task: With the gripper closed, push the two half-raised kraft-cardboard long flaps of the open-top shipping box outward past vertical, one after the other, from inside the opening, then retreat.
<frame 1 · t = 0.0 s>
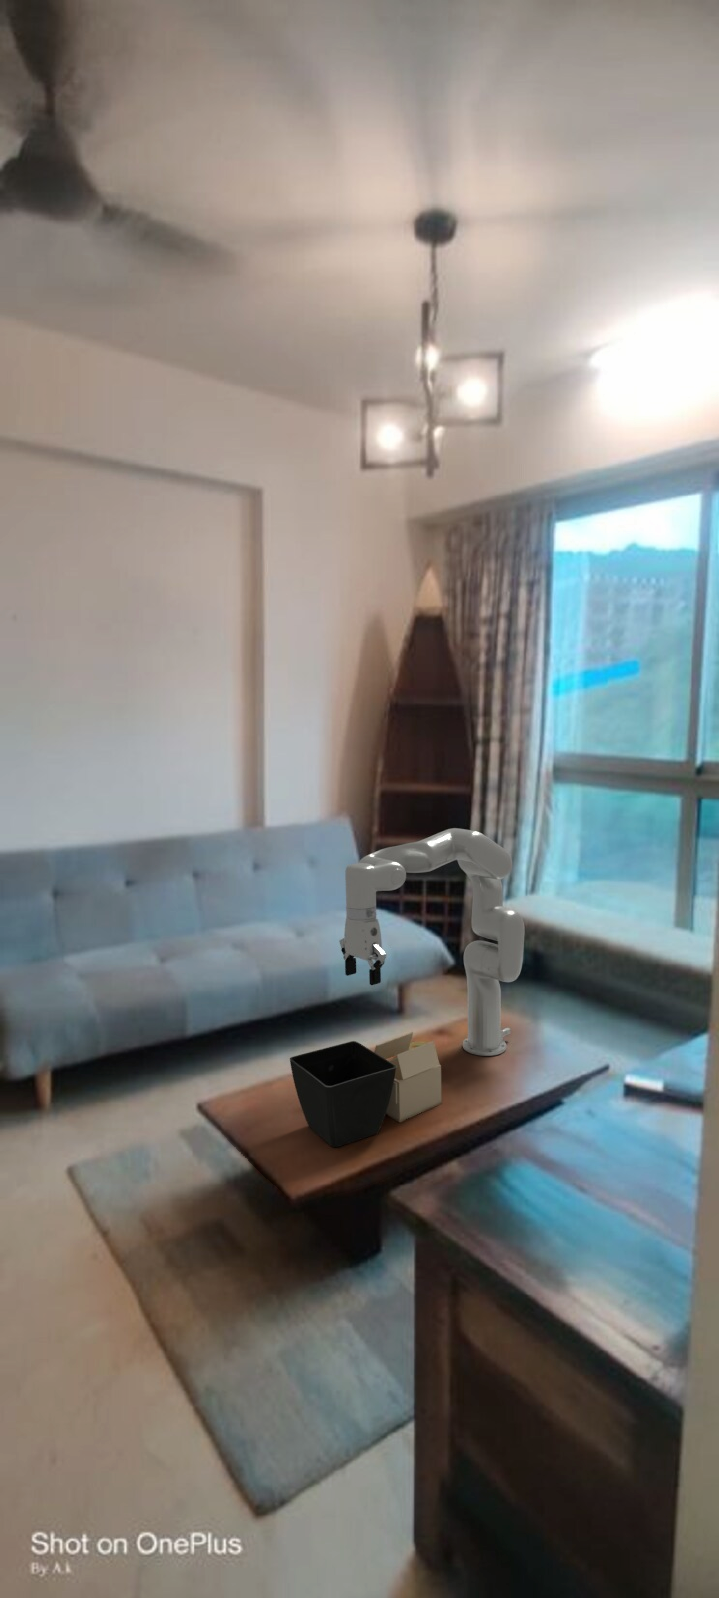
hand: (362, 979, 200), 31 cm above the table, tool pointing down, fingers open, 9 cm apart
flower pot: (344, 1130, 188), on the table
carton: (417, 1068, 220), on the table
far flap: (392, 1047, 201), point 13 cm above the table, hinge at 70.0°
shipping box: (406, 1104, 199), on the table
near flap: (418, 1059, 193), point 13 cm above the table, hinge at 70.0°
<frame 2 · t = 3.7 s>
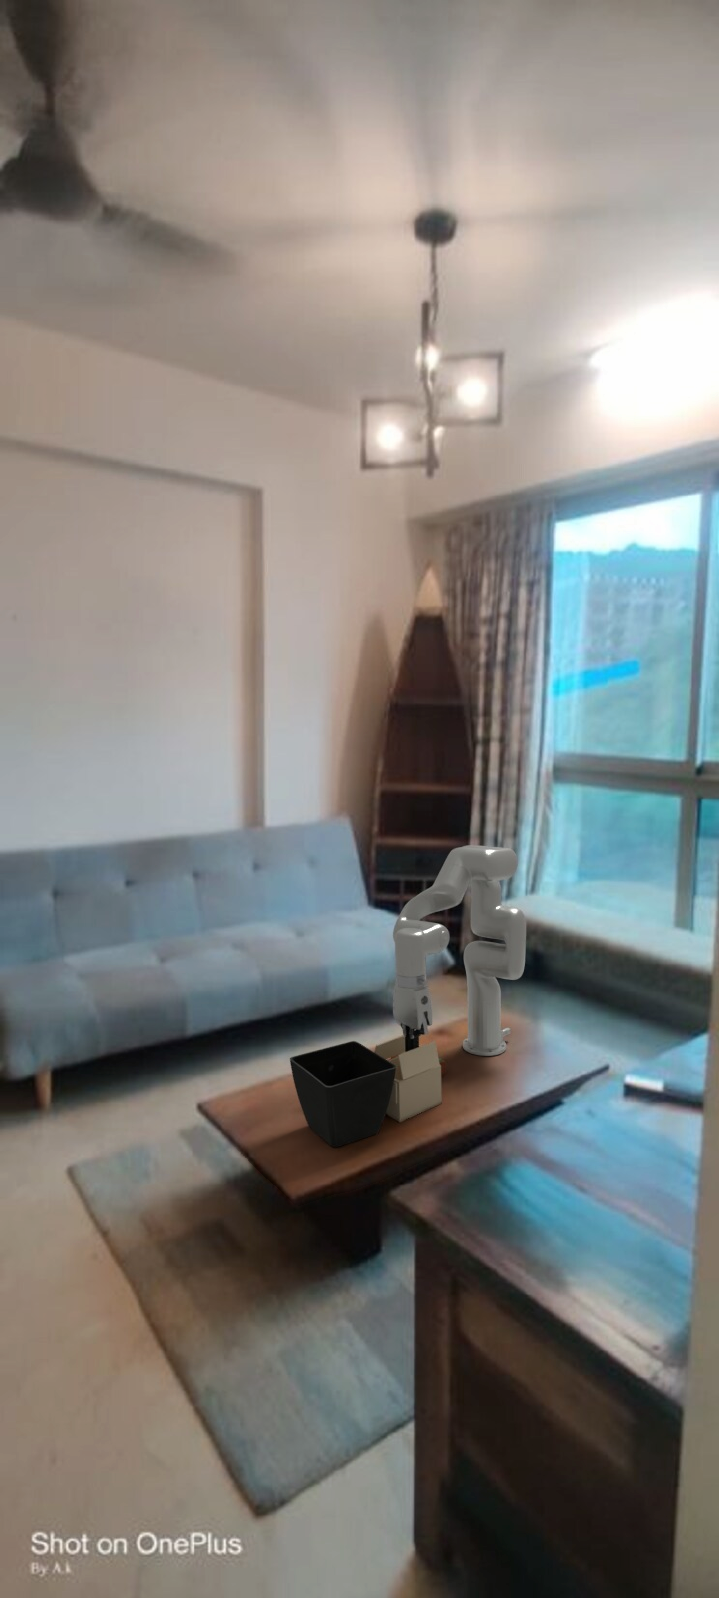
hand: (412, 1051, 195), 15 cm above the table, tool pointing down, fingers closed
near flap: (419, 1059, 193), point 13 cm above the table, hinge at 76.3°, touching gripper
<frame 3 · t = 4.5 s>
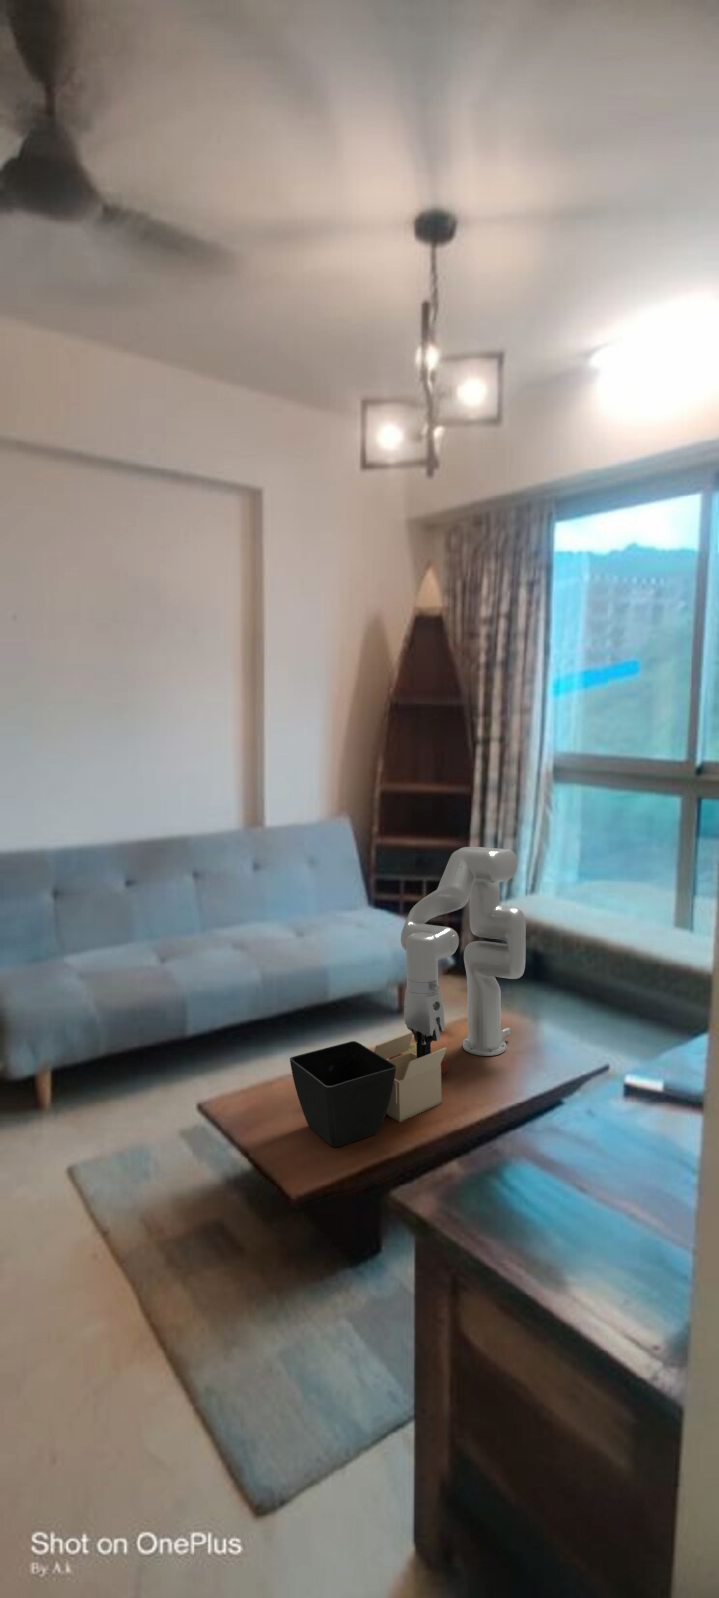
hand: (423, 1057, 192), 15 cm above the table, tool pointing down, fingers closed
near flap: (425, 1063, 192), point 13 cm above the table, hinge at 115.7°, touching gripper
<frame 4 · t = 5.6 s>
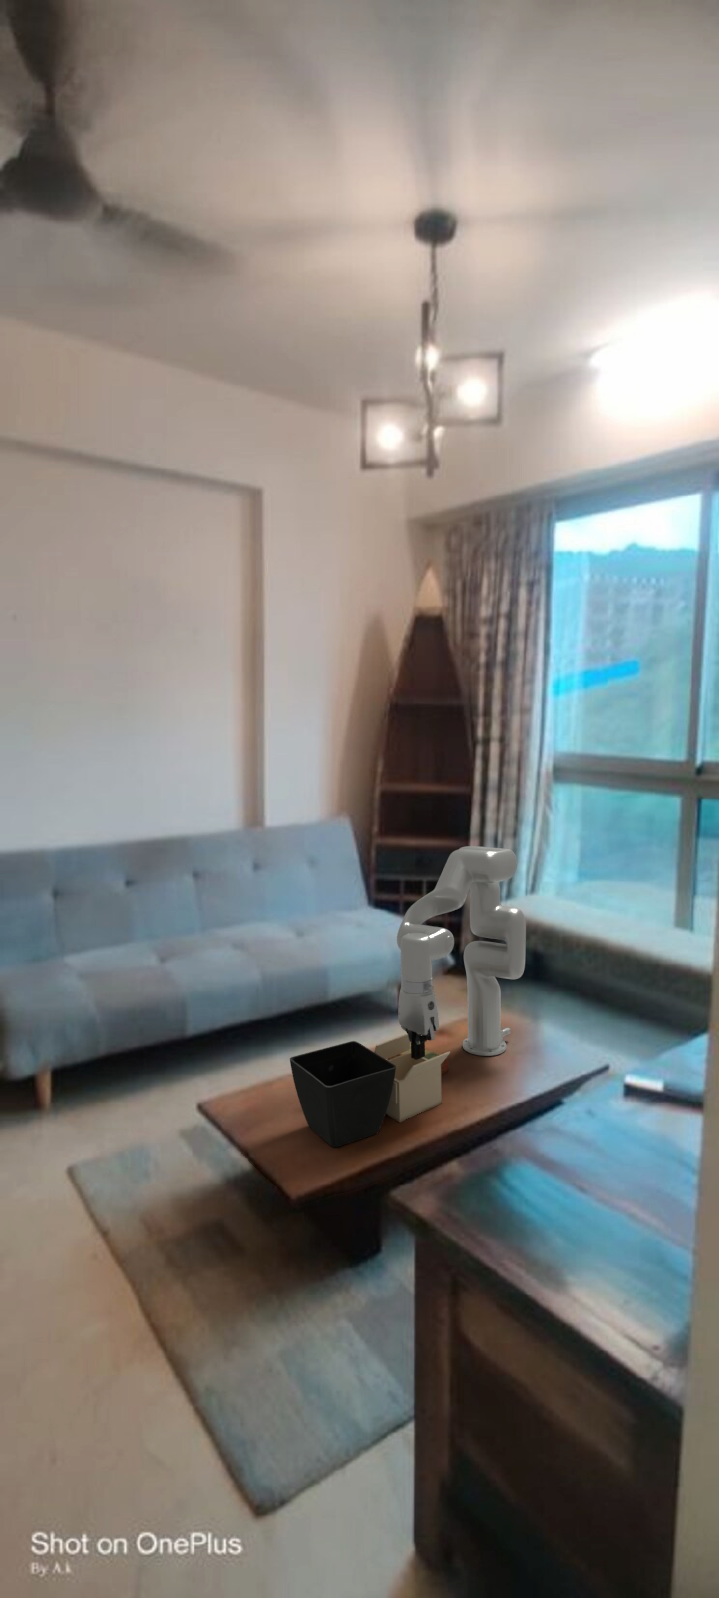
hand: (418, 1057, 194), 14 cm above the table, tool pointing down, fingers closed
near flap: (426, 1065, 191), point 13 cm above the table, hinge at 128.3°
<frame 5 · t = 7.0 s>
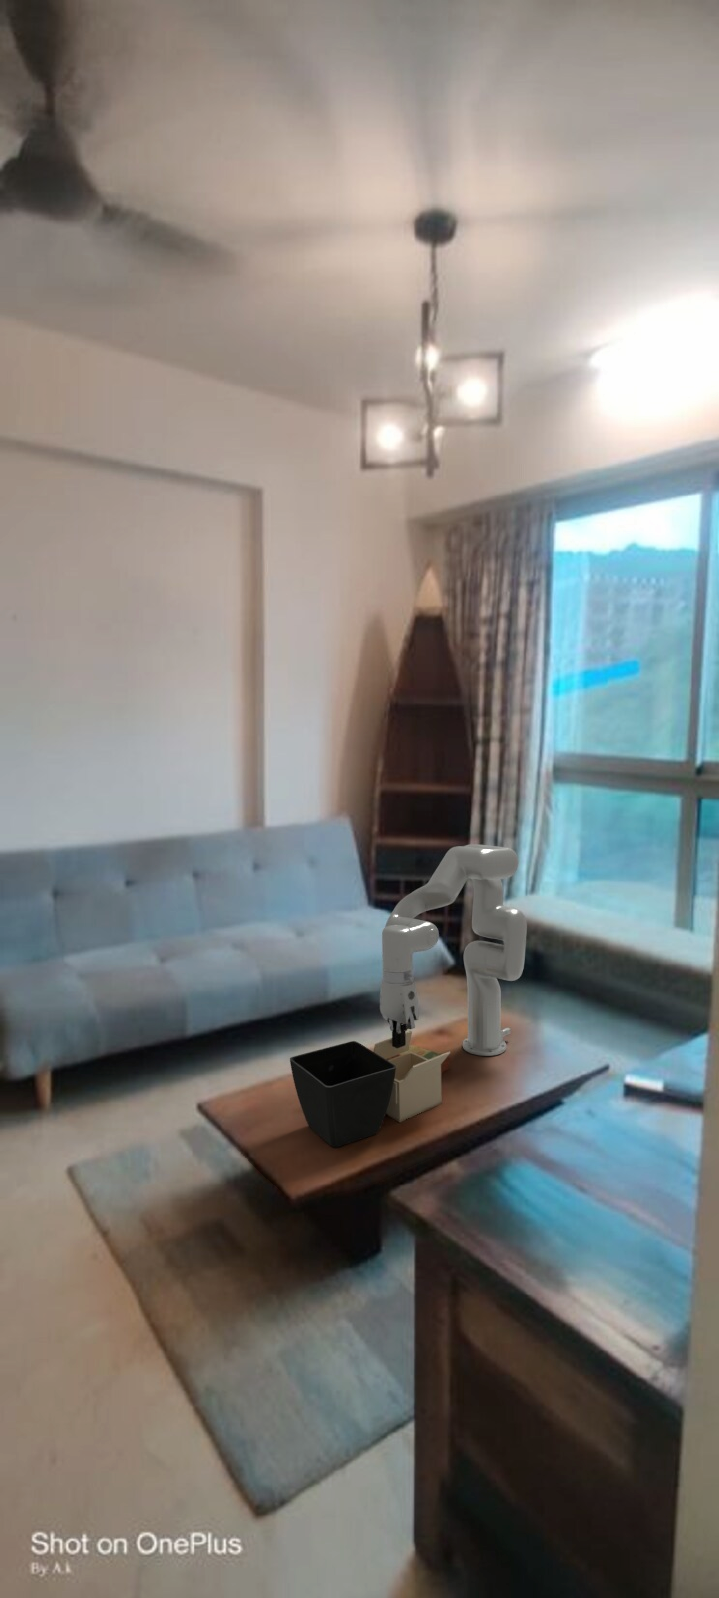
hand: (398, 1045, 199), 15 cm above the table, tool pointing down, fingers closed
far flap: (392, 1047, 201), point 13 cm above the table, hinge at 74.6°, touching gripper
near flap: (426, 1065, 191), point 13 cm above the table, hinge at 128.7°
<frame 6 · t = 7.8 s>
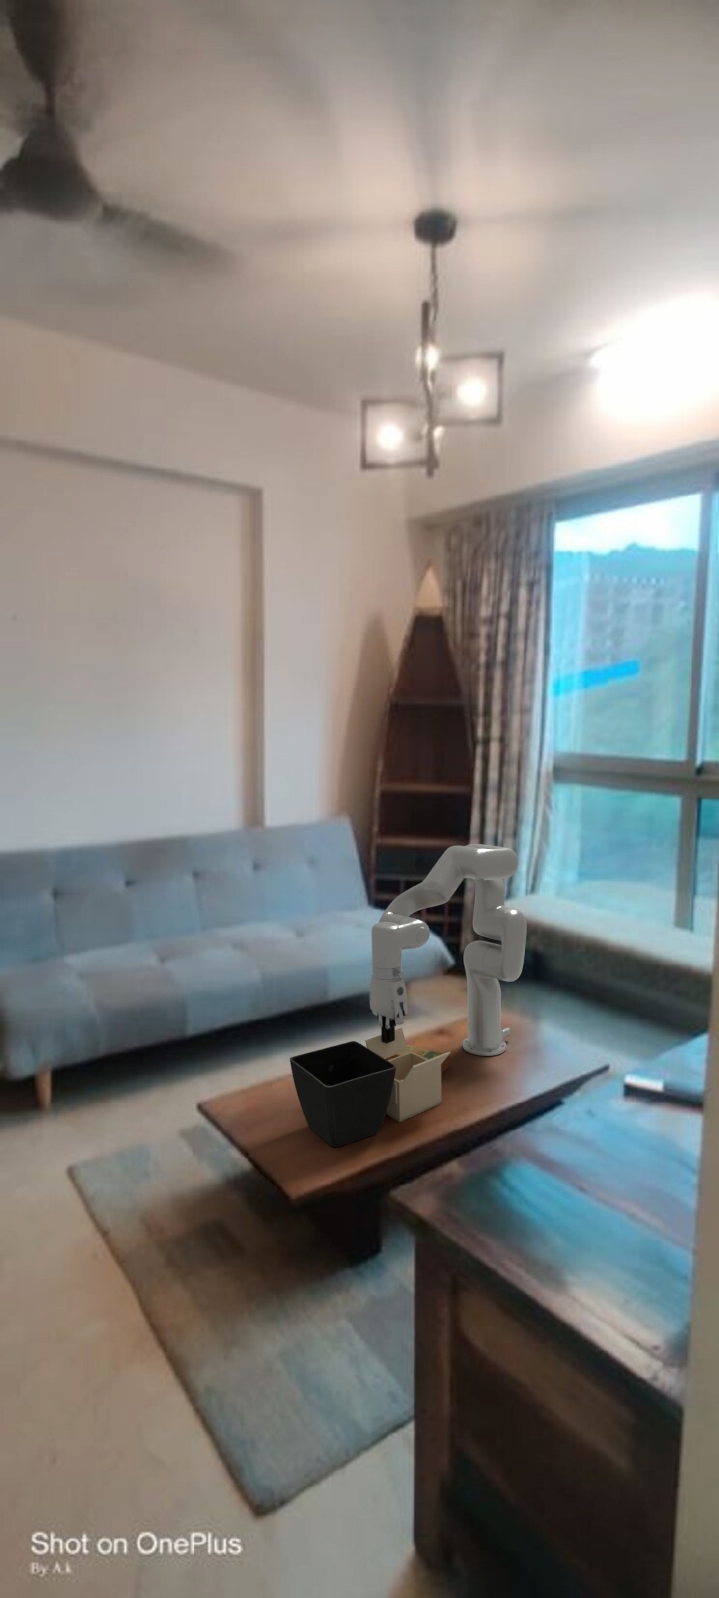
hand: (388, 1041, 202), 15 cm above the table, tool pointing down, fingers closed
far flap: (386, 1045, 203), point 13 cm above the table, hinge at 112.8°, touching gripper
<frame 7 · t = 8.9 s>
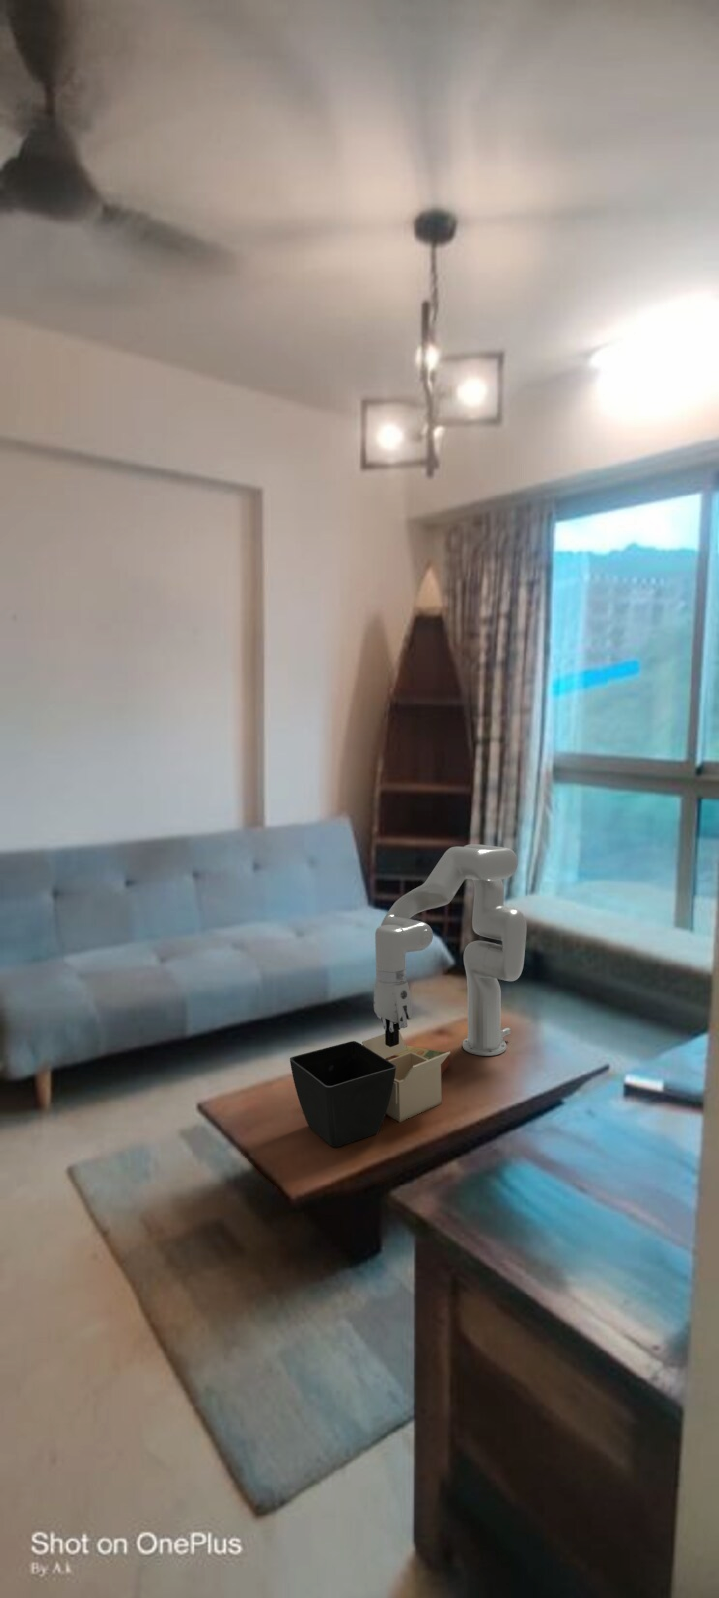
hand: (392, 1044, 201), 14 cm above the table, tool pointing down, fingers closed
far flap: (385, 1045, 203), point 13 cm above the table, hinge at 128.3°
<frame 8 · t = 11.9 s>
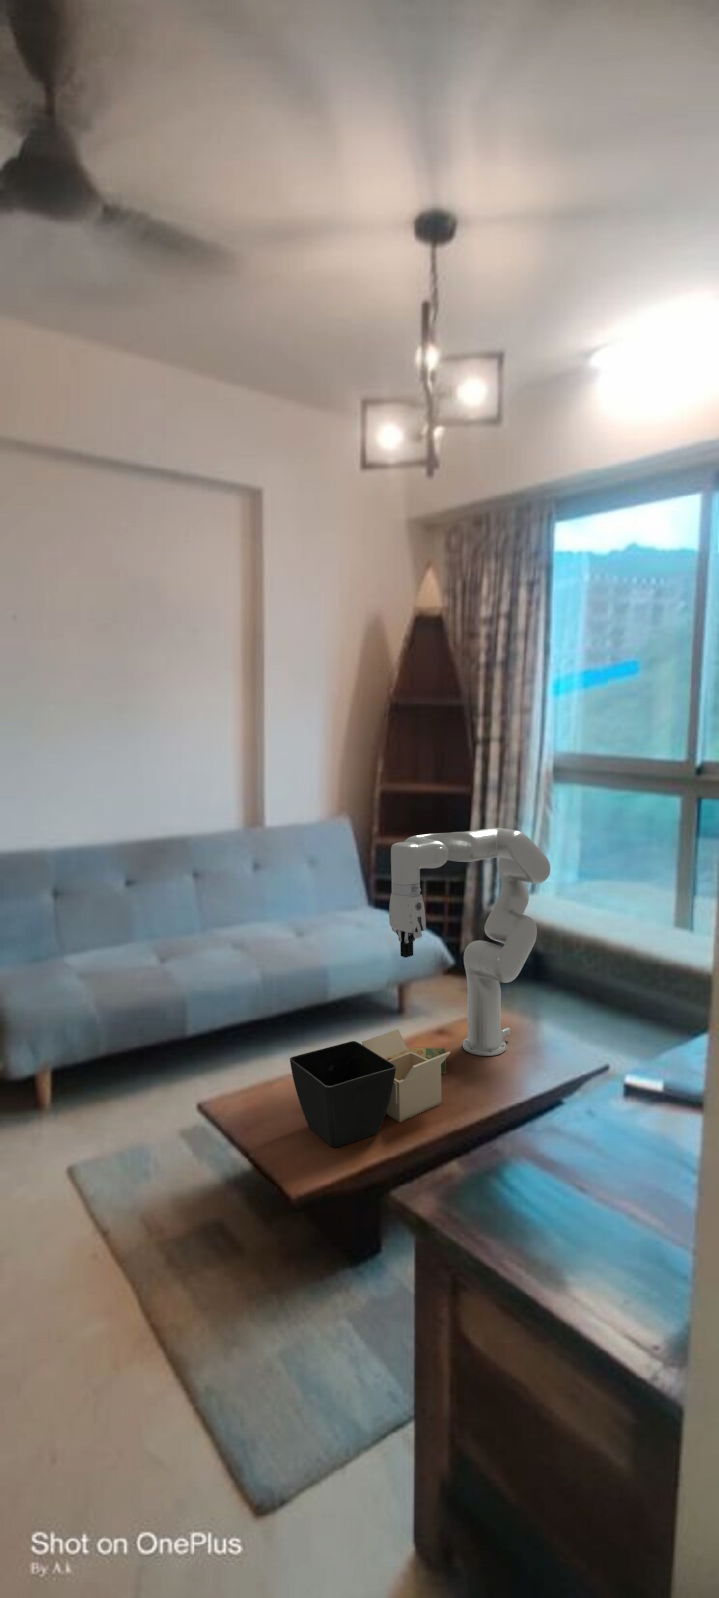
hand: (407, 955, 212), 33 cm above the table, tool pointing down, fingers closed
far flap: (385, 1046, 203), point 13 cm above the table, hinge at 128.8°
at the end: near flap at +129° (first picture: +70°); far flap at +129° (first picture: +70°) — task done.
